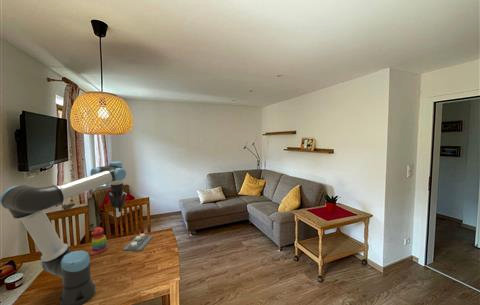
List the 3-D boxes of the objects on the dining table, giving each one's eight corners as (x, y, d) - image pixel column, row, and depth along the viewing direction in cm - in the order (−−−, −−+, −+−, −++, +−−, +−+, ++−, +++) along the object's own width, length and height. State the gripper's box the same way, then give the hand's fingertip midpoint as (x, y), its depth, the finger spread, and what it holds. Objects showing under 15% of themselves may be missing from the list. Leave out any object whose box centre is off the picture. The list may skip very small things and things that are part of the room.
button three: (143, 239, 169) (143, 235, 169) (138, 239, 169) (138, 235, 169) (146, 236, 173) (145, 233, 173) (141, 236, 173) (141, 233, 173)
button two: (139, 241, 163) (139, 237, 162) (134, 241, 163) (134, 237, 162) (142, 239, 167) (142, 235, 166) (137, 239, 167) (137, 235, 166)
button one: (135, 248, 156) (135, 243, 156) (130, 247, 156) (130, 243, 156) (138, 245, 160) (137, 241, 160) (133, 245, 160) (132, 241, 160)
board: (141, 251, 155) (140, 247, 155) (122, 250, 155) (122, 247, 155) (152, 237, 175) (152, 234, 174) (136, 237, 175) (136, 234, 175)
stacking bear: (92, 248, 158) (91, 226, 157) (108, 245, 162) (106, 223, 161) (89, 256, 148) (87, 232, 147) (105, 252, 153) (104, 229, 151)
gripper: (129, 182, 148) (130, 214, 150) (111, 182, 148) (112, 214, 150) (122, 184, 141) (124, 218, 143) (104, 184, 141) (105, 218, 143)
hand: (118, 216), depth 146 cm, fingers closed
